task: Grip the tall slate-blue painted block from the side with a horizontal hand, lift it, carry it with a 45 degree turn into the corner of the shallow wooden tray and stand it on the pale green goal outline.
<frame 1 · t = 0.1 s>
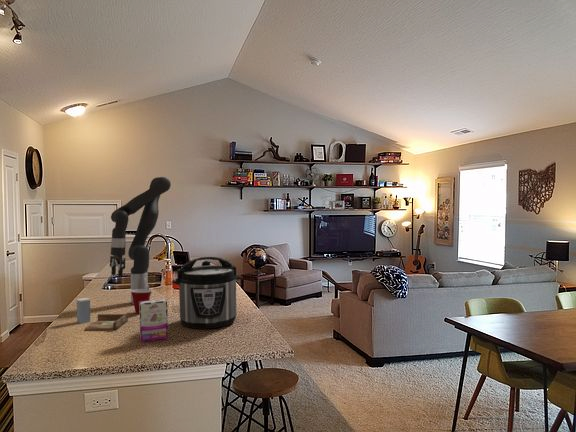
hand: (116, 275, 238), 17 cm above the counter, tool pointing down, fingers open, 8 cm apart
pressure cooker: (208, 323, 207), on the counter
shallow wooden tray: (109, 325, 203), on the counter
plastic cup: (141, 312, 226), on the counter
block: (83, 321, 209), on the counter
candy bar box: (153, 339, 182), on the counter
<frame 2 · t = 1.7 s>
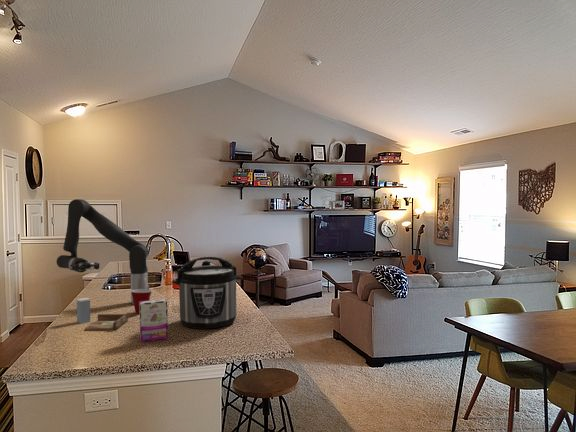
hand: (91, 268, 221), 24 cm above the counter, tool horizontal, fingers open, 6 cm apart
nothing on the counter moved.
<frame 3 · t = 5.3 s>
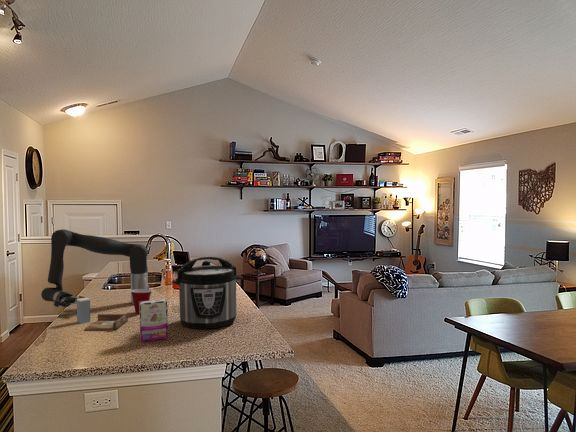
hand: (74, 303, 216), 7 cm above the counter, tool horizontal, fingers open, 8 cm apart
nothing on the counter moved.
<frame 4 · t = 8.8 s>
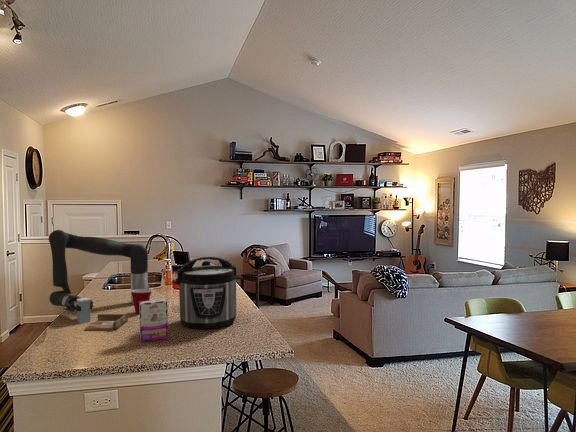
hand: (85, 308, 207), 7 cm above the counter, tool horizontal, fingers closed on block, 4 cm apart
block: (83, 321, 209), on the counter, touching gripper
everything else where it was.
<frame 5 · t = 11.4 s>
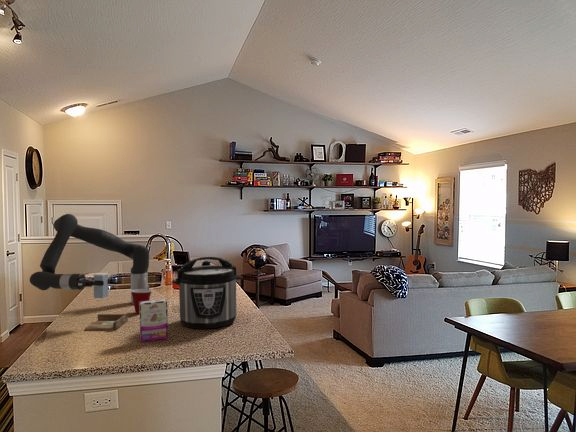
hand: (106, 282, 202), 20 cm above the counter, tool horizontal, fingers closed on block, 4 cm apart
block: (101, 296, 203), point 13 cm above the counter, touching gripper
when the fingers open (9 cm above the counter, at t = 14.2 s): block stays where it is, resting on shallow wooden tray.
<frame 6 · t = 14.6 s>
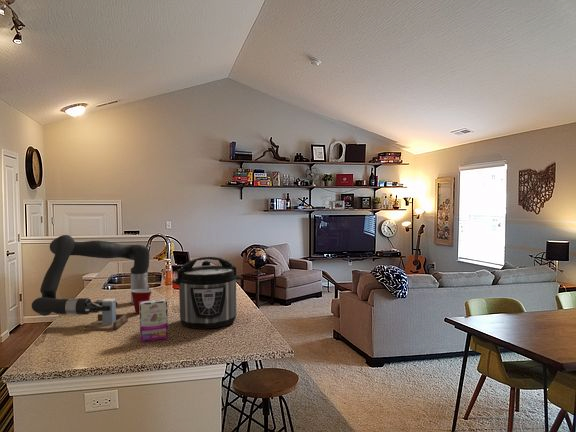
hand: (113, 306, 202), 9 cm above the counter, tool horizontal, fingers open, 7 cm apart
block: (109, 322, 203), point 1 cm above the counter, touching shallow wooden tray
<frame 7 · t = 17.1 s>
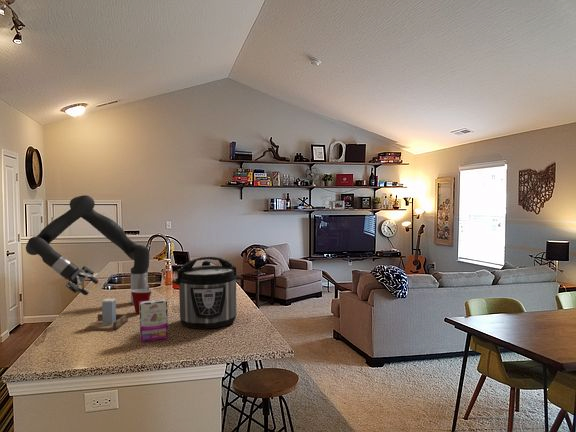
hand: (92, 288, 210), 16 cm above the counter, tool tilted 50°, fingers open, 8 cm apart
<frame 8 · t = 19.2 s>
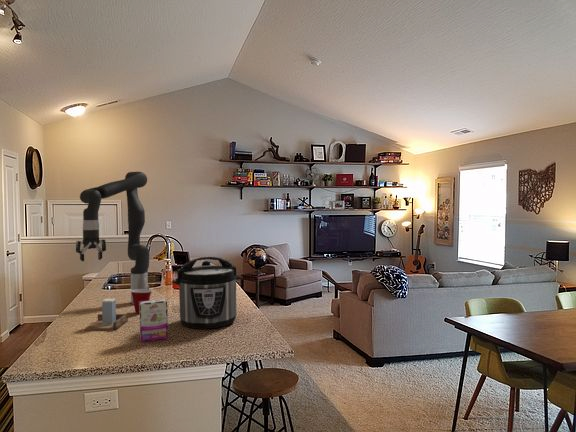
hand: (91, 260, 221), 28 cm above the counter, tool pointing down, fingers open, 8 cm apart
at the end: block 0.0 cm from the shallow wooden tray (horizontally); block tilted 0°; the gripper is holding nothing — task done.
